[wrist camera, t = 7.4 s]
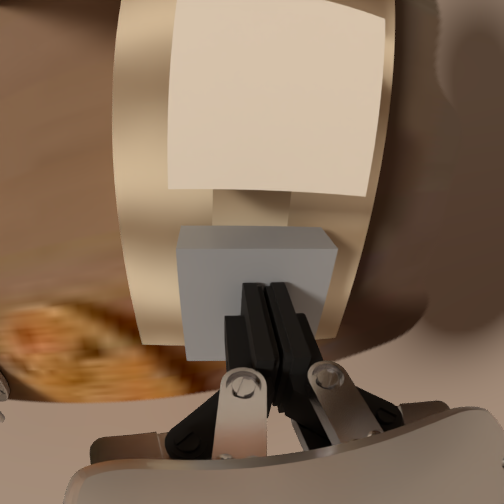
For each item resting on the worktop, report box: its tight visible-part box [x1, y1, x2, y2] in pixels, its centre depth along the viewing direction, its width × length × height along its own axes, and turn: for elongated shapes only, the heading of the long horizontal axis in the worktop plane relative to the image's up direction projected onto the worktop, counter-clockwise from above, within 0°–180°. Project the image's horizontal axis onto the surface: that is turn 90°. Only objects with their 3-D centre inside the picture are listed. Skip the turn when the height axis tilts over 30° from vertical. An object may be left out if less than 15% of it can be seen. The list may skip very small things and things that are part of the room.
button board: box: [112, 0, 395, 345], centre depth 11 cm, size 27×12×3 cm, turn 176°
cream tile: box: [167, 0, 385, 197], centre depth 8 cm, size 6×6×4 cm
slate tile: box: [176, 226, 338, 361], centre depth 13 cm, size 6×6×4 cm
